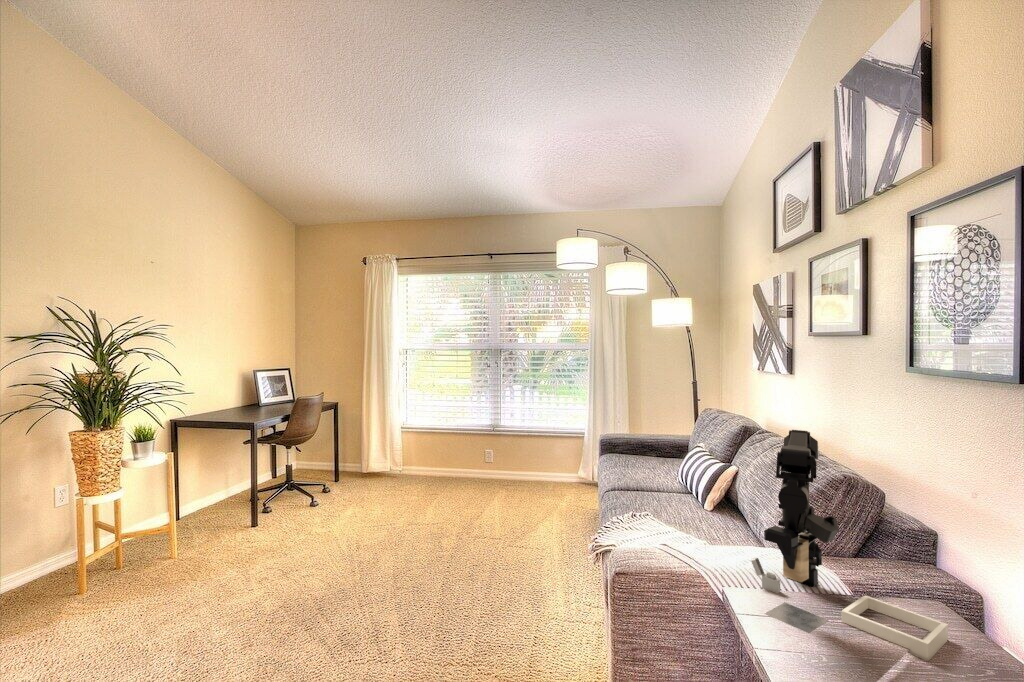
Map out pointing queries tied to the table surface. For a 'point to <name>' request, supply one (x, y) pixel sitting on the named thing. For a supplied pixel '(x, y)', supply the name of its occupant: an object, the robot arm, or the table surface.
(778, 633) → the table surface
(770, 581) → the lighter
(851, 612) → the rectangular frame
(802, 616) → the base plate
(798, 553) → the strut
